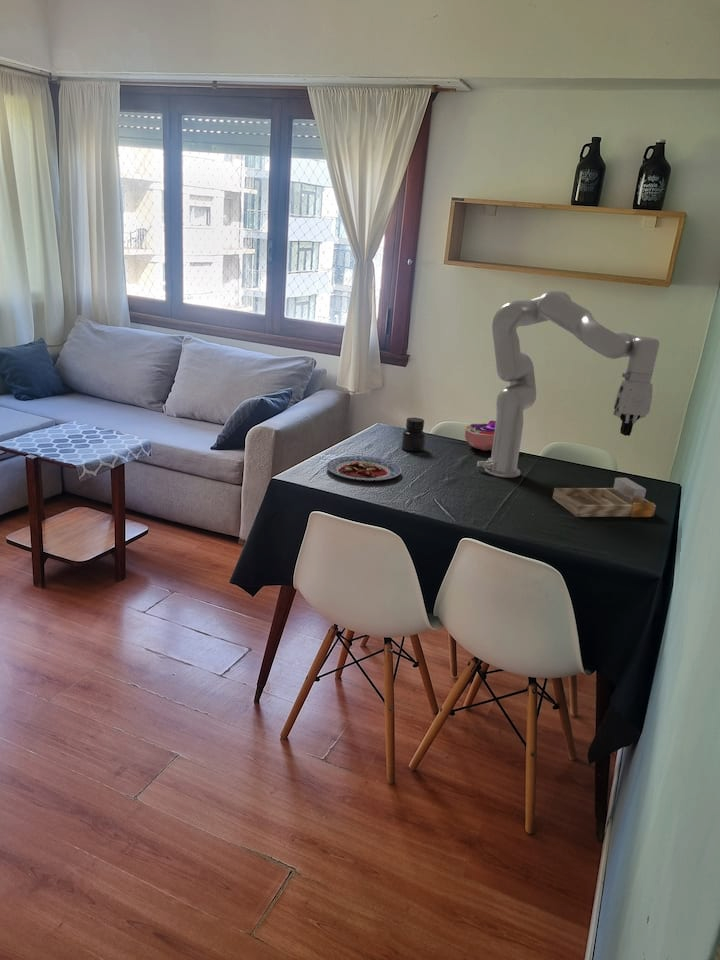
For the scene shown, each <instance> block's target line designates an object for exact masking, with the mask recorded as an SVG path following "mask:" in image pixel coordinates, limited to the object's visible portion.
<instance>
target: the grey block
mask: <svg viewBox="0 0 720 960" xmlns="http://www.w3.org/2000/svg"><path fill="white" fill-rule="evenodd" d="M612 488H613V492H612V493H613V494H614V495H616V496H617V497H619V498H620V499H622V500H624V501H625V502H627V503H628V504H630V505H633V503H643V502H644V499H646V498H645V497H646V493H647V489H646V488H645V487H643V486H642V485H639V484H638V483H636V482H634V481H633V480H631V479H629V478H628V477H615V478H614V483H613V487H612Z"/></svg>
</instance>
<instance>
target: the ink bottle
mask: <svg viewBox="0 0 720 960" xmlns="http://www.w3.org/2000/svg"><path fill="white" fill-rule="evenodd" d="M405 423H406V424H405V428H406V429H404V431H403V432H402V436H401V437H402V439H401V449H402V450H403V449H405V450H404V451H406V450H409V451H408V452H410V451H421V452H423V451H424V450H425V446H426V445H425V443H426V433H425V432H424V427H425V419H423V418H421V417H406V422H405Z"/></svg>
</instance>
